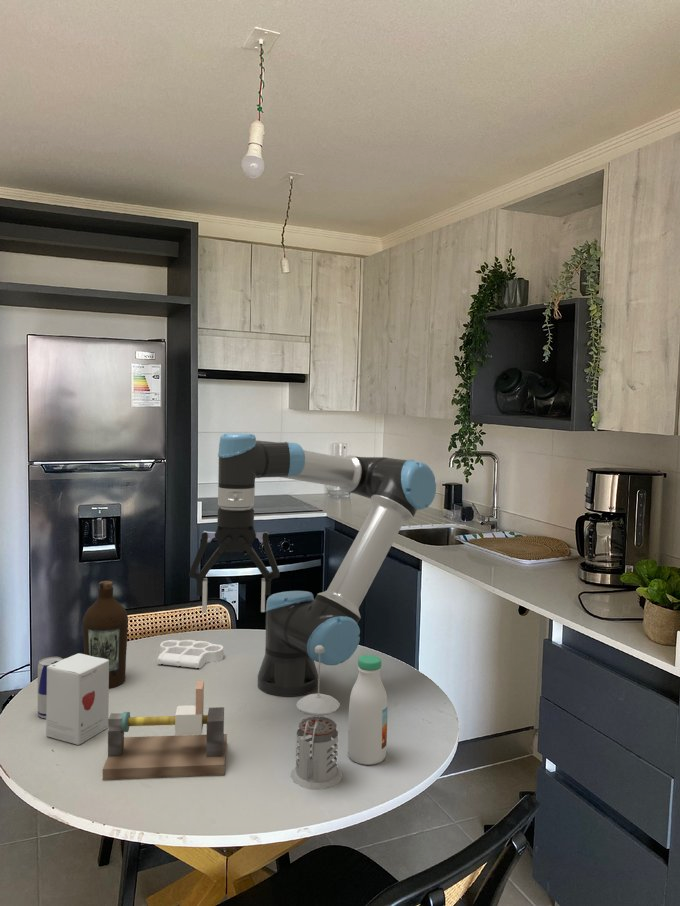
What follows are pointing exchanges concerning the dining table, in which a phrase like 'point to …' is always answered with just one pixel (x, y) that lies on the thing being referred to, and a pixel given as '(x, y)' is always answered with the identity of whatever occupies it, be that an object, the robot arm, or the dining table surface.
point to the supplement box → (77, 698)
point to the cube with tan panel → (191, 715)
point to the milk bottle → (368, 714)
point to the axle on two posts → (164, 749)
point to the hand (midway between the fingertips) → (233, 610)
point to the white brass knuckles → (189, 653)
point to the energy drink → (44, 683)
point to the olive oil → (107, 632)
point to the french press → (317, 741)
